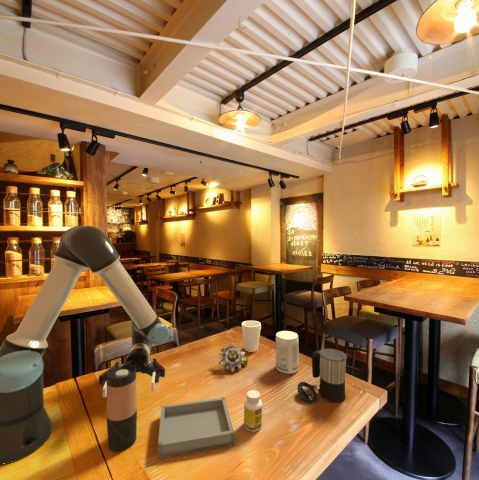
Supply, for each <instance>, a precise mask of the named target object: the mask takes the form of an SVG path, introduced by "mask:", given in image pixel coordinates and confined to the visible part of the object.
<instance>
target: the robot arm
mask: <svg viewBox="0 0 479 480" xmlns="http://www.w3.org/2000/svg"><path fill="white" fill-rule="evenodd" d="M52 256H53V259H54V262H55V263H54V264H53V266H52V268H51V269H50V272H49V273H48V275H47V277H46V278H45V280H44V281H43V284H42V285H41V287H40V288H39V291H38V292H37V294H36V296H35V297H34V299H33V301H32V303H31V305H30V306H29V308H28V309H27V311H26V313H25V315H24V317H23V318H22V320H21V322H20V324H19V325H18V327H17V329H16V330H15V331H14V332H12V333H11V334H8V335H7V336H6V337H5V339H4V340H3V342H2V344H1V346H0V464H3V463H7V464H9V463H8V462H11V461H14V462H16V461H19V460H21V459H23V458H25V457H27V456H29V455H31V454H32V453H34V452H35V451H37V450H38V449H40V448H41V447H42V446H43V445H44V444H45V443H46V442H47V441H48V440H49V438H50V437H51V435H52V431H53V425H52V419H51V418H50V415H49V414H48V412H47V410H46V408H45V405H44V404H45V402H44V399H45V397H44V367H45V366H44V361H43V356H44V354H45V352H46V351H47V348H48V346H49V344H48V341H47V337H48V335H49V334H50V332H51V330H52V329H53V327H54V324H55V323H56V320H57V319H58V317H59V315H60V313H61V312H62V310H63V308H64V306H65V304H66V302H67V301H68V298H69V296H70V295H71V293H72V291H73V289H74V287H75V285H76V284H77V282H78V280H79V278H80V276H81V275H82V272H84V271H87V270H90V271H91V273H93V274H97V275H98V276H99V277H100V279H101V280H102V281H103V283H104V284H105V285H106V287H107V288H108V289H109V291H110V292H111V294H113V296H114V298H115V299H116V300H117V301H118V303H119V304H120V305H121V306H122V309H123V310H125V312H126V313H127V315H128V316H129V318H130V320H131V321H130V323H131V348H130V350H129V353H128V356H127V358H126V360H125V362H124V363H122V364H120V362H119V361H118V362H117V361H116V362H115V364H114V365H113V366H111V367H110V368H108V369H107V370H105V372H103V373H101V374H100V375H99V376H98V385H101V389H102V398H103V399H105V398H107V372H108V371H109V370H110V369H112V368H114V367H115V368H119V367H122V366H123V365H126V364H128V365H133V366H135V367H136V374H138V373H141V374H144V375H145V374H146V375H147V376H150V377H151V381H150V382H151V383H150V384H151V387H150V388H151V392H154V391H155V387H156V384H157V383H160V382H159V381H160V377H161V378H165V376H166V368H165V367H163V365H161V364H160V363H159V361H157V358H153V359H152V360H151V361H149V359H150V358H149V357H150V354H151V350H152V347H153V345H154V346H155V345H156V346H160V345H162V344H163V345H164V343H165V342H167V340H168V339H169V336H170V328H169V327H168V326H167V325H166V324H165V323H163V322H162V321H161V320H160V318H159V317H158V315H157V314H156V312H155V310H154V309H153V307H152V306H151V305H150V303H149V302H148V300H147V299H146V297H145V296H144V294H143V293H142V292H141V291H140V289H139V287H138V286H137V285H136V283H135V282H134V280H133V279H132V277H131V276H130V274H129V273H128V272H127V270H126V269H125V267H124V266H123V264H122V263H121V261H120V258H121V255H120V254H119V253H118V251H117V249H116V248H115V247H114V245H113V243H112V241H111V240H110V239H109V236H107V234H106V233H105V232H104V231H102V230H101V229H100V228H98V227H96V226H92V225H77V226H75V225H74V226H73V227H70V228H69V229H66V231H64V233H63V234H62V235H61V237H60V239H59V244H58V247H57V249H56V250H55V252H54V254H53V255H52ZM22 457H23V458H22ZM20 458H21V459H20ZM18 459H19V460H18ZM15 460H16V461H15ZM11 463H12V462H11ZM3 465H4V464H3Z"/></svg>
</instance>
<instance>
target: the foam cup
mask: <svg viewBox="0 0 479 480" xmlns="http://www.w3.org/2000/svg"><path fill="white" fill-rule="evenodd" d="M241 330H242V337H243V338H242V339H243V346H244V351H245V350H246V351H251V352H252V351H256V350H257V349H259V344H260V343H259V342H260V336H261V330H262V324H261V322H260V321H257V320H245V321H242V322H241ZM246 351H245V352H246ZM257 351H258V350H257Z"/></svg>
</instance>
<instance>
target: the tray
mask: <svg viewBox="0 0 479 480" xmlns="http://www.w3.org/2000/svg"><path fill="white" fill-rule="evenodd" d="M160 410H161V411H160V419H159V421H160V422H159V429H158V430H159V431H158V439H157V440H158V441H157V460H159V459H165V458H170V457H177V456H180V455H187V454H194V453H197V452H204V451H209V450H214V449H220V448H226V447H233V446H235V431H234V427H233V423H232V420H231V415H230V412H229V408H228V406H227V402H226V398H225V397H217V398H210V399H209V398H208V399H202V400H195V401H188V402H182V403H174V404H173V403H172V404H166V405H161V409H160Z"/></svg>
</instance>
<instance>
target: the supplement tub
mask: <svg viewBox="0 0 479 480" xmlns="http://www.w3.org/2000/svg"><path fill="white" fill-rule="evenodd" d="M299 350H300V349H299V335H298V333H297V332H294V331H290V330H281V331H277V332H276V334H275V368H276V370H277V371H278V372H280V373H282V374H285V375H291V374H295V373H297V372H298V371H299V367H300V365H299V363H300V362H299V360H300V359H299V356H300V355H299V354H300V352H299Z"/></svg>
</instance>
